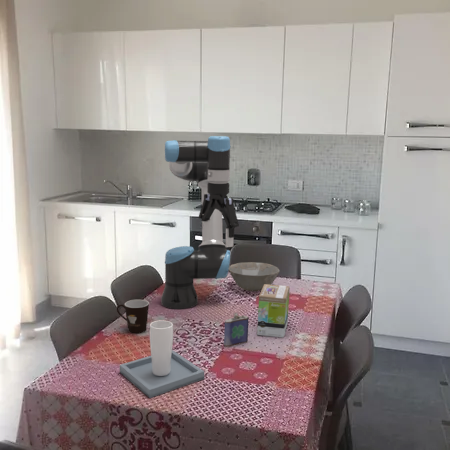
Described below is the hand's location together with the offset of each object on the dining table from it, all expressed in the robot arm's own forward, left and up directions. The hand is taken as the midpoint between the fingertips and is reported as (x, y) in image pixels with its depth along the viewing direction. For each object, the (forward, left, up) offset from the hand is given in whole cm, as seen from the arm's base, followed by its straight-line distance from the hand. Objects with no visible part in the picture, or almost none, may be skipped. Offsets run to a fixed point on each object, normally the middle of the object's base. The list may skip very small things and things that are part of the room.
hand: (217, 242), depth 175 cm
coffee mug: (-18, -23, -33) cm, 44 cm away
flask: (+13, -1, -33) cm, 35 cm away
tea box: (+11, +18, -33) cm, 39 cm away
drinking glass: (+18, -33, -32) cm, 49 cm away
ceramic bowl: (-28, +42, -33) cm, 60 cm away
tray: (+18, -33, -32) cm, 50 cm away
